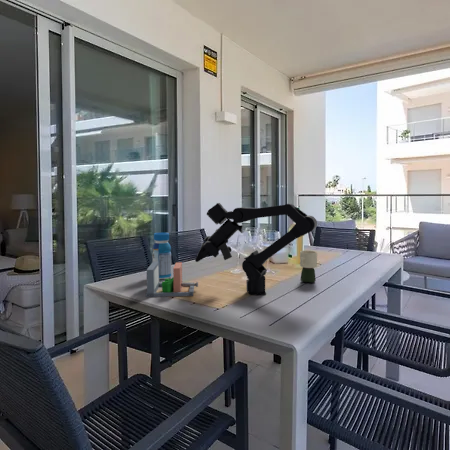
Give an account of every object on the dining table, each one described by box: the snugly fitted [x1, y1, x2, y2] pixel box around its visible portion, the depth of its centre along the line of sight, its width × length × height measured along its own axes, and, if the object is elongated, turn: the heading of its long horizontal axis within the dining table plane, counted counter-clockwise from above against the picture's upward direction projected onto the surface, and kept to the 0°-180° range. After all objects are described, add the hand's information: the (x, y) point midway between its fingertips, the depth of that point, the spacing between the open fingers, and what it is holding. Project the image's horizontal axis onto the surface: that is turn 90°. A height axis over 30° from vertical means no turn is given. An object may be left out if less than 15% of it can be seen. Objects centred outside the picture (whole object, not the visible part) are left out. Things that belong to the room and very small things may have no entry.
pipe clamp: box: [161, 277, 174, 292], centre depth 139 cm, size 11×4×5 cm, turn 177°
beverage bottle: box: [151, 232, 172, 280], centre depth 160 cm, size 8×8×20 cm
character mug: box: [299, 250, 318, 283], centre depth 153 cm, size 11×7×13 cm, turn 133°
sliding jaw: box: [172, 261, 199, 292], centre depth 140 cm, size 9×11×10 cm
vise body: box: [145, 261, 195, 297], centre depth 140 cm, size 17×15×10 cm
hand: (195, 261), depth 140 cm, fingers closed
